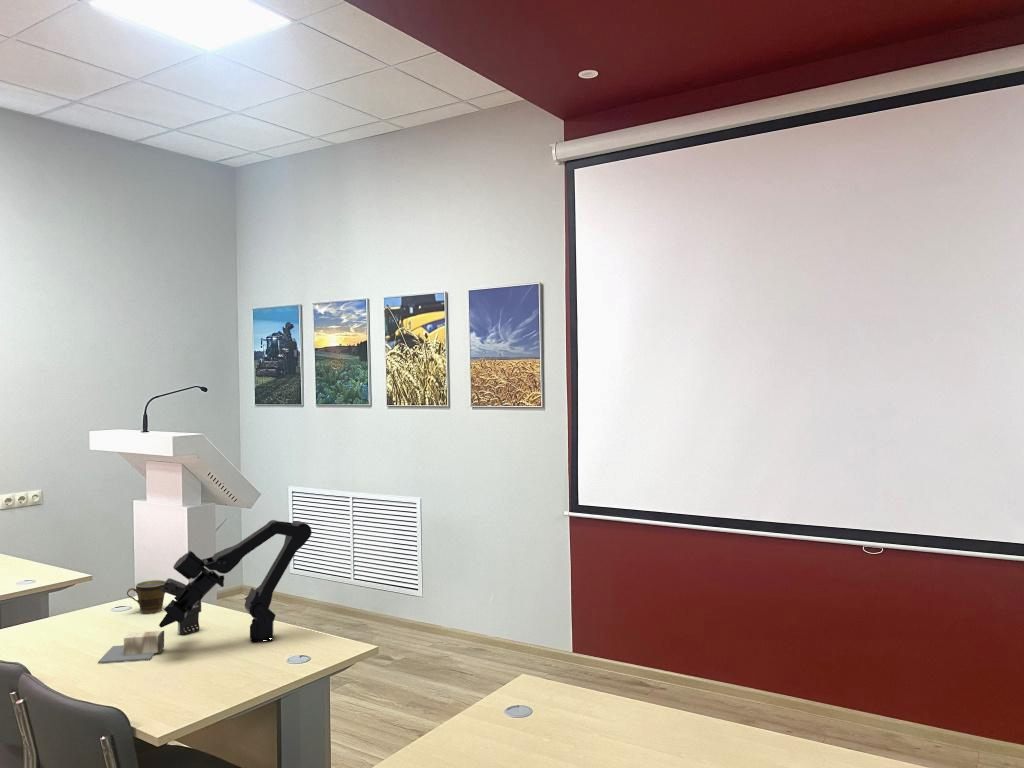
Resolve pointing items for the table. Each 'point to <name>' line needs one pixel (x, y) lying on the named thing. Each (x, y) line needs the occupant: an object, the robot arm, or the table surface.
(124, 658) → the mat
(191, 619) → the battery charger
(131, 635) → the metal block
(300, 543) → the robot arm
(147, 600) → the ceramic cup
